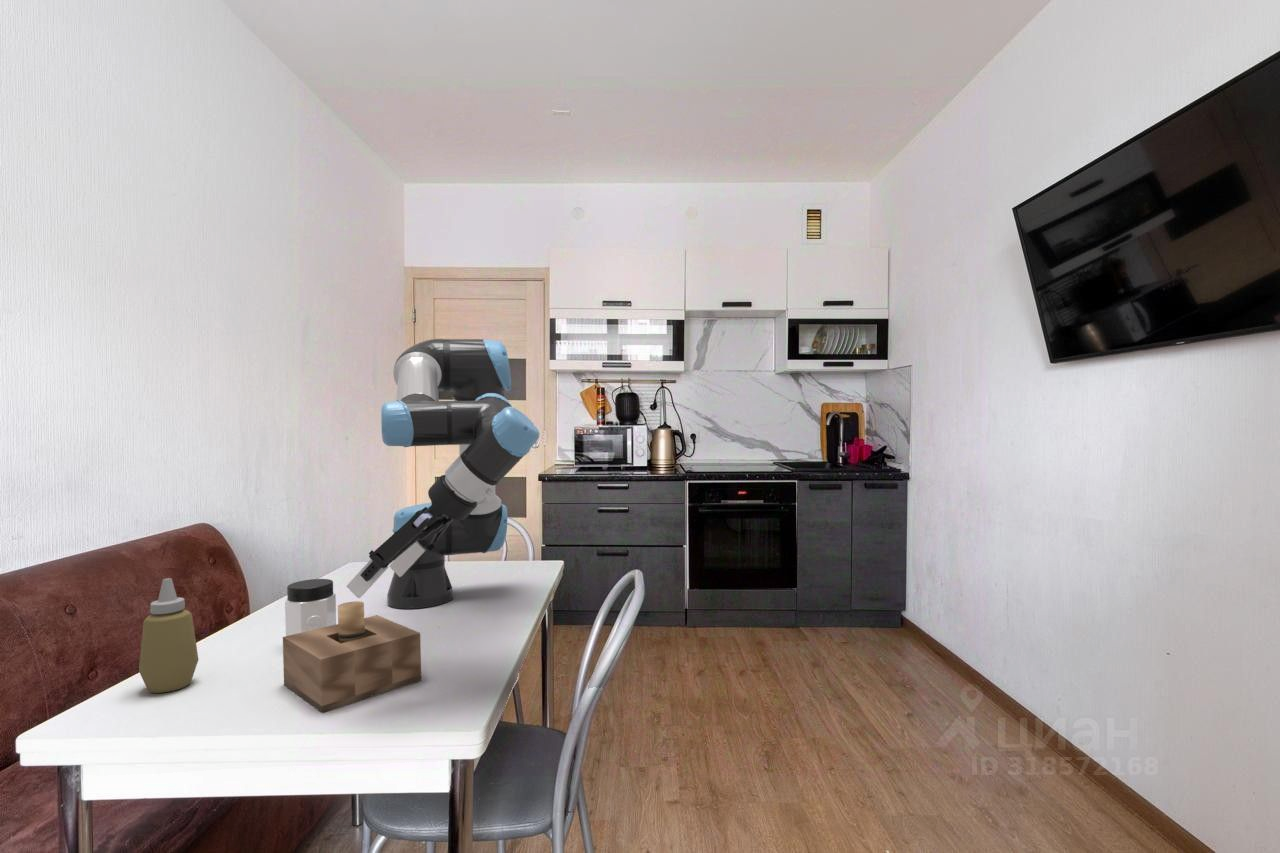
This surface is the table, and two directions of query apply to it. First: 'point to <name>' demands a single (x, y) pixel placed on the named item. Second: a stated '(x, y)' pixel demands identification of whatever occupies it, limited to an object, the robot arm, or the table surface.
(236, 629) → the table surface
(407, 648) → the walnut socket block
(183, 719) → the table surface
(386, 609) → the table surface
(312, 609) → the jar
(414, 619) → the table surface
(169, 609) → the squeeze bottle
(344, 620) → the oak peg
